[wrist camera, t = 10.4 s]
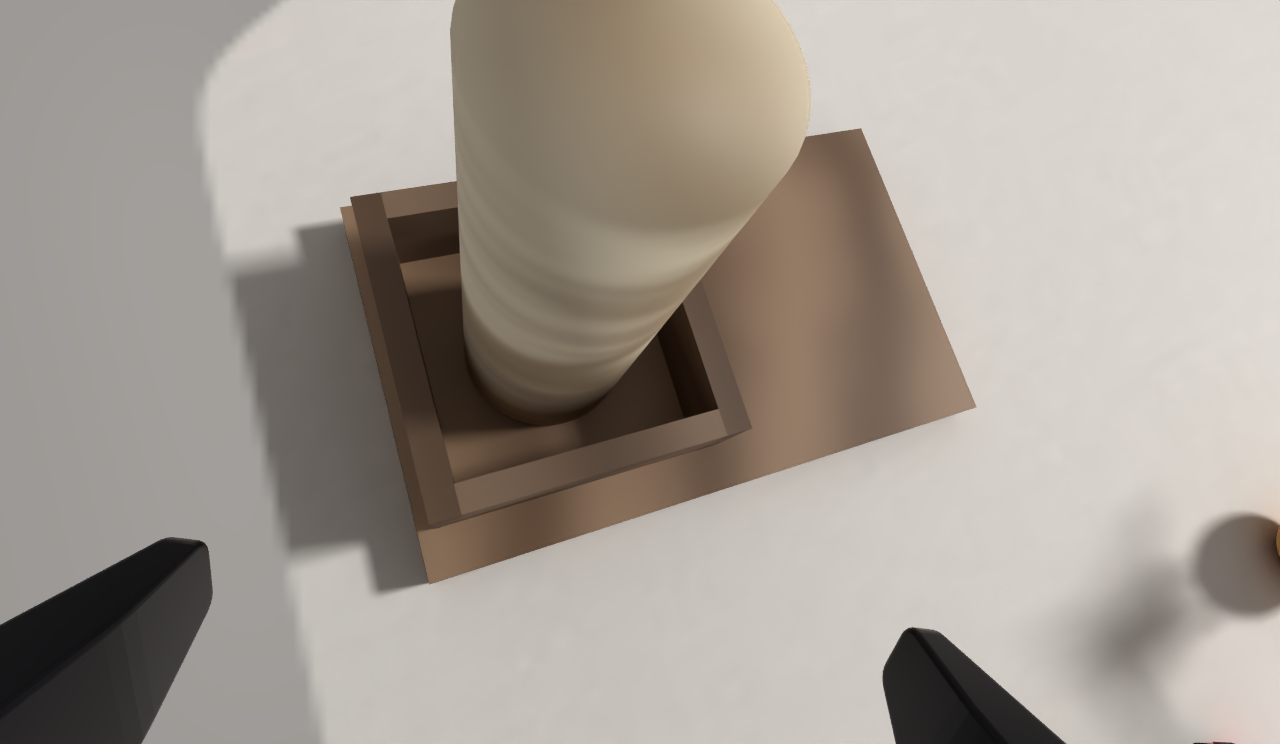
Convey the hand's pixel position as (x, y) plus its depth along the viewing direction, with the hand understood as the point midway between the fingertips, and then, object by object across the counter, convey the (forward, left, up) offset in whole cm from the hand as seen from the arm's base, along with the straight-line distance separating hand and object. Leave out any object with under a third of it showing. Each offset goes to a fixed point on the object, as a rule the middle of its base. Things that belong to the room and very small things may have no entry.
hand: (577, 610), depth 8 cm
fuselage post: (+4, +6, -11) cm, 13 cm away
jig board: (+9, +4, -13) cm, 16 cm away
